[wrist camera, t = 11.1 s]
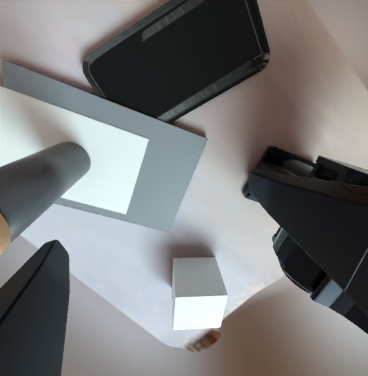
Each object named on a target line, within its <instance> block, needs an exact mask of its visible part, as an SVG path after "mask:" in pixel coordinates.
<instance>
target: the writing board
mask: <svg viewBox="0 0 368 376" xmlns="http://www.w3.org/2000/svg"><path fill="white" fill-rule="evenodd" d="M207 140H208V139H207V138H205V137H203V136H200V135H198V134H195V133H192V132H190V131H187V130H185V129H182V128H180V127H177V126H174V125H172V124H167V123H165V122H163V121H160V120H157V119H155V118H152V117H150V116H147V115H144V114H142V113H139V112H137V111H134V110H132V109H129V108H126V107H124V106H121V105H119V104H116V103H113V102H111V101H108V100H106V99H103V98H100V97H98V96H97V95H94V94H92V93H89V92H87V91H84V90H81V89H79V88H76V87H74V86H71V85H69V84H66V83H63V82H61V81H58V80H56V79H53V78H50V77H48V76H45V75H43V74H40V73H38V72H35V71H32V70H30V69H27V68H25V67H22V66H20V65H17V64H14V63H12V62H9V61H5V60H3V87H2V86H0V167H1V166H4V165H6V164H9V163H11V162H14V161H16V160H19V159H21V158H24V157H26V156H29V155H31V154H34V153H36V152H39V151H41V150H44V149H46V148H49V147H51V146H54V145H56V144H59V143H61V142H73V143H76V144H78V145H80V146H81V147H83V148H84V149H85V150H86V152H87V153H88V155H89V157H90V161H91V166H90V169H89V171H88V172H87V173H86V174H85V175H84V176H83V177H82V178H81V179H80V180H78V181H77V182H76V183H75V184H74V185H73V186H72V187H71V188H70V189H69V190H68V191H66V192H65V193H64V194H63V195H62V196H61V197H60V198H59V199H58V200H57V201H56V202H55V204H59V205H63V206H67V207H71V208H75V209H79V210H82V211H86V212H90V213H94V214H98V215H102V216H106V217H110V218H114V219H118V220H122V221H126V222H130V223H134V224H138V225H142V226H146V227H150V228H154V229H158V230H162V231H166V232H169V230H170V228H171V226H172V223H173V221H174V218H175V216H176V214H177V211H178V209H179V207H180V204H181V202H182V199H183V197H184V195H185V192H186V190H187V188H188V185H189V183H190V180H191V178H192V176H193V173H194V171H195V169H196V166H197V164H198V161H199V159H200V157H201V154H202V152H203V150H204V147H205V145H206V142H207Z"/></svg>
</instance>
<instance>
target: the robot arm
mask: <svg viewBox="0 0 368 376" xmlns="http://www.w3.org/2000/svg"><path fill="white" fill-rule="evenodd" d="M272 149H273V152H270V151H271V150H272ZM311 166H312V167H311ZM247 193H249V194H248V195H246V194H247ZM243 195H244V197H245V198H247V199H250V200H253V201H256V202H259V203H260V204H261V205H262V207H263V208H264V209H265V210H266V211H267V213H268V214H269V215H270V216H271V217H272V218H273V219H274V220H275V221H276V222H277V223H278V224H279V225H280V227H279V229H278V231H277V233H276V234H274V235H273V237H272V240H273V248H274V251H275V253H276V255H277V257H278V259H279V263H280V266H281V268H282V270H283V272H284V273H285V275H286V276H287V277H288V278H289V279H290V280H291V281H292V282H293V283H294V284H295V285H297V286H298V287H299V288H301V289H303V290H304V291H306V292H308V293H310V294H311V296H310V297H311V298H312V300H313V301H315V302H317V303H320V304H322V305H325V306H327V307H329V308H331V309H332V310H334V311H336V312H337V313H339V314H341V315H342V316H344V317H345V318H347V319H348V320H350V321H351V322H353V323H354V324H355V325H357V326H358V327H359V328H361V329H362V330H363V331H364V332H366V333H367V334H368V170H366V169H363V168H360V167H356V166H353V165H350V164H346V163H343V162H340V161H336V160H333V159H329V158H326V157H323V156H318V158H317V160H316V164H315V163H313V162H311V161H308V160H306V159H303V158H301V157H298V156H296V155H294V154H291V153H289V152H286V151H284V150H281V149H279V148H277V147H274V146H270V147H268V148H267V150H266V152H265V154H264V155H263V157H262V159H261V161H260V162H259V163H258V164H257V166H256V168H255V170H254V171H253V172H250V173H249V183H248V185H247V186H246V188H245V190H244V192H243ZM69 286H70V280H69V255H68V252H67V251H66V250H65V248H64V247H63V246H62V244H61V243H60V242H59V241H58V240H53V241H50V242H47V243H45V244H44V245H43V246H42V247H41V248H40V249H39V250H38V251H37V252H36V253H35V254H34V255H33V256H32V257H31V258H30V259H29V260H28V261H27V262H26V263H25V264H24V265H23V266H22V267H21V268H20V269H19V270H18V271H17V272H16V273H15V274H14V275H13V276H12V277H11V278H10V279H9V280H8V281H7V282H6V283H5V284H4V285H3V286H2V287H1V288H0V376H61V369H62V360H63V351H64V341H65V332H66V322H67V313H68V303H69V293H70V290H69V289H70V287H69Z"/></svg>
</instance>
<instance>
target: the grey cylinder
mask: <svg viewBox="0 0 368 376" xmlns="http://www.w3.org/2000/svg"><path fill="white" fill-rule="evenodd" d="M90 166H91V161H90V157H89V155H88V153H87V152H86V150H85V149H84V148H83V147H81V146H80V145H78V144H76V143H73V142H61V143H59V144H56V145H54V146H51V147H49V148H46V149H44V150H41V151H39V152H36V153H34V154H31V155H29V156H26V157H24V158H21V159H19V160H16V161H14V162H11V163H9V164H6V165H4V166H1V167H0V255H1V254H2V253H3V252H4V251H5V250H6V249H7V248H8V247H9V245H10V243H11V242H12V241H13V240H14V239H15V238H16V237H18V236H19V235H20V234H21V233H22V232H23V231H24V230H25V229H26V228H27V227H28V226H29V225H31V224H32V223H33V222H34V221H35V220H36V219H37V218H38V217H39V216H40V215H41V214H43V213H44V212H45V211H46V210H47V209H48V208H49V207H50V206H51V205H52V204H53V203H55V202H56V201H57V200H58V199H59V198H60V197H61V196H62V195H63V194H64V193H65V192H66V191H68V190H69V189H70V188H71V187H72V186H73V185H74V184H75V183H76V182H77V181H78V180H80V179H81V178H82V177H83V176H84V175H85V174H86V173H87V172H88V171H89V169H90Z"/></svg>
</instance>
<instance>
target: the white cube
mask: <svg viewBox="0 0 368 376" xmlns="http://www.w3.org/2000/svg"><path fill="white" fill-rule="evenodd" d="M227 296H228V295H227V292H226V289H225V286H224V282H223V279H222V276H221V273H220V270H219V267H218V264H217V261H216V258H215V257H189V258H173V273H172V309H173V330H184V329H201V328H217V327H220V326H221V322H222V318H223V313H224V309H225V305H226V300H227Z"/></svg>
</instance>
